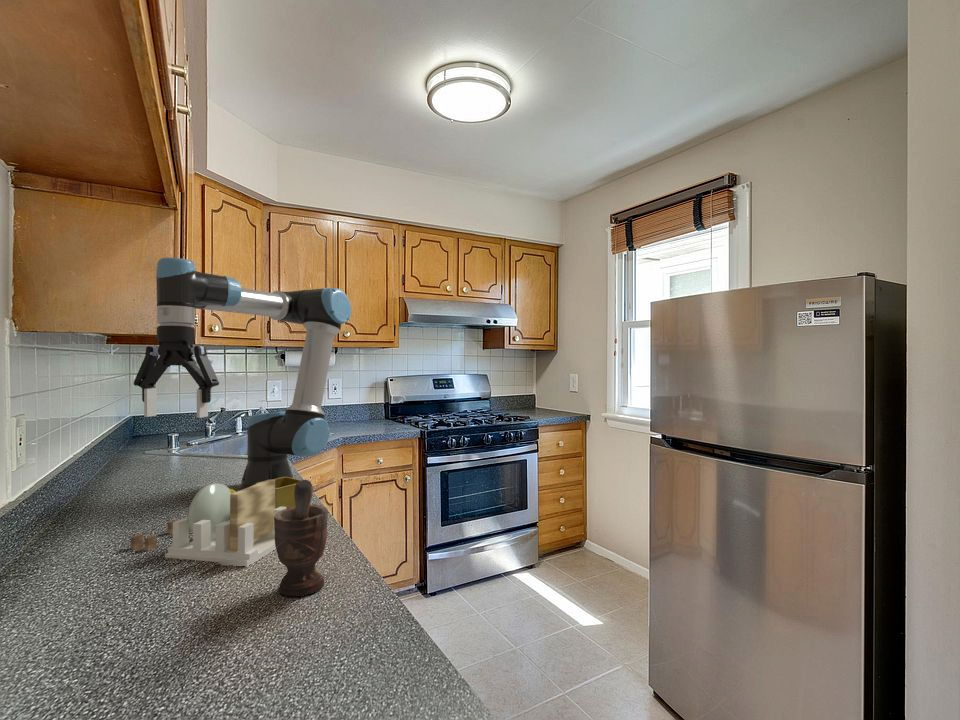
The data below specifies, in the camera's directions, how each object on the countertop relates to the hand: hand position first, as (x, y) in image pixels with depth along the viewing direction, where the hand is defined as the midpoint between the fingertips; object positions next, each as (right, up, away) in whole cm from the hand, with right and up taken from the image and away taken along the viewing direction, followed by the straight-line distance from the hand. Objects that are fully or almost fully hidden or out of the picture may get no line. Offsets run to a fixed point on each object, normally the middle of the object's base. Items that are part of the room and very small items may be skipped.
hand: (176, 416), depth 110 cm
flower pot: (+21, -27, +8) cm, 35 cm away
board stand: (+2, -26, -8) cm, 28 cm away
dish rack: (+19, -26, -12) cm, 34 cm away
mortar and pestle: (+41, -26, -30) cm, 57 cm away
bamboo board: (+24, -24, -12) cm, 36 cm away
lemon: (+8, -26, +7) cm, 29 cm away
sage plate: (+14, -24, -11) cm, 30 cm away
